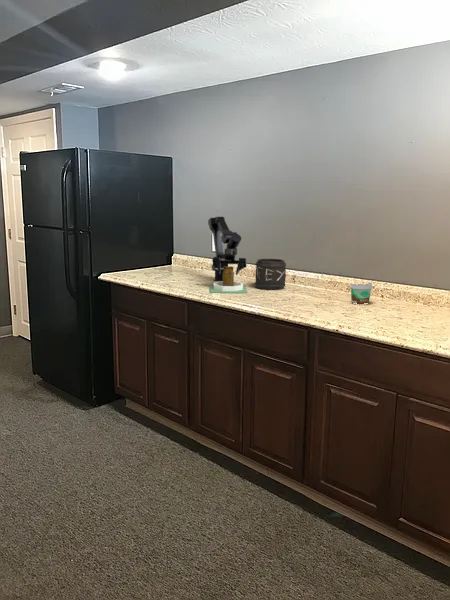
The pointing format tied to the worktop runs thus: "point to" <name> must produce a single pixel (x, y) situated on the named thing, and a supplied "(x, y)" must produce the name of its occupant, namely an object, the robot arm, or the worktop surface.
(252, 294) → the worktop surface
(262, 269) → the lettered dark canister
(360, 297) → the food container
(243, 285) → the green mat
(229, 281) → the yellow bottle can
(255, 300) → the worktop surface
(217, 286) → the white octagonal fence
